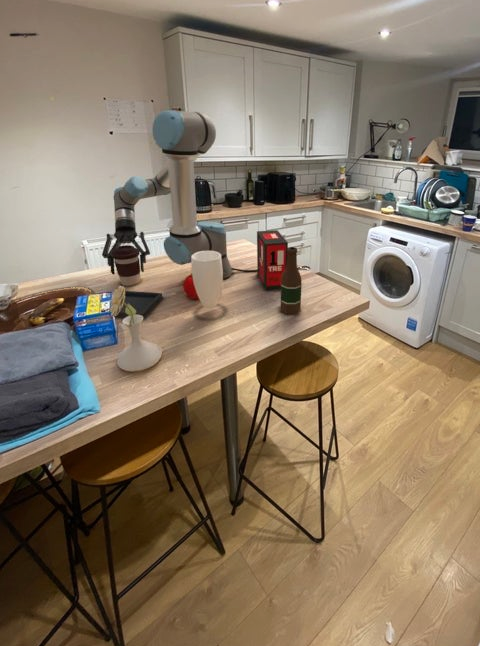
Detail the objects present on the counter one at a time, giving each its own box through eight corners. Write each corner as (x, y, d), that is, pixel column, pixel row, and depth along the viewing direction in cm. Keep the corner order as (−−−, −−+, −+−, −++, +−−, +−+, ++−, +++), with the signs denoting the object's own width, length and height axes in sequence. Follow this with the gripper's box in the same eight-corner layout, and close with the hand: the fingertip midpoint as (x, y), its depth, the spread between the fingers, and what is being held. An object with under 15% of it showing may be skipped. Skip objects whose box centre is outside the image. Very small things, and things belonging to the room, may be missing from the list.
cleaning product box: (286, 288, 138) (287, 242, 130) (265, 290, 135) (265, 244, 127) (276, 272, 152) (277, 230, 144) (257, 274, 150) (256, 231, 141)
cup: (199, 322, 112) (193, 263, 104) (192, 308, 121) (186, 252, 112) (229, 315, 117) (226, 258, 108) (221, 302, 125) (217, 248, 117)
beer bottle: (303, 306, 125) (306, 246, 115) (296, 317, 118) (299, 253, 108) (284, 302, 127) (285, 243, 117) (276, 312, 120) (277, 250, 110)
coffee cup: (148, 278, 142) (143, 244, 136) (135, 288, 133) (129, 253, 127) (126, 276, 142) (120, 242, 136) (112, 286, 133) (104, 251, 127)
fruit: (185, 291, 132) (182, 267, 128) (208, 289, 134) (206, 266, 130) (182, 302, 124) (179, 278, 120) (207, 300, 126) (205, 276, 122)
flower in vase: (123, 351, 97) (106, 273, 87) (165, 346, 100) (153, 270, 90) (111, 382, 86) (90, 296, 76) (158, 376, 88) (144, 293, 78)
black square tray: (163, 298, 126) (162, 292, 125) (144, 319, 113) (143, 313, 112) (124, 295, 127) (123, 290, 126) (100, 316, 113) (99, 310, 112)
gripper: (155, 225, 146) (159, 272, 139) (97, 228, 139) (98, 278, 132) (153, 216, 140) (157, 265, 133) (91, 219, 133) (92, 271, 126)
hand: (127, 271), depth 133 cm, fingers closed on coffee cup, 10 cm apart
